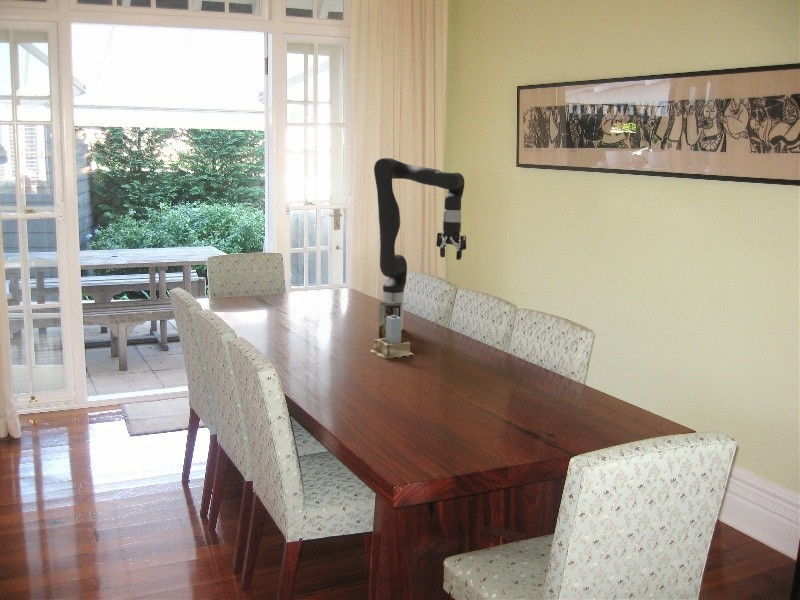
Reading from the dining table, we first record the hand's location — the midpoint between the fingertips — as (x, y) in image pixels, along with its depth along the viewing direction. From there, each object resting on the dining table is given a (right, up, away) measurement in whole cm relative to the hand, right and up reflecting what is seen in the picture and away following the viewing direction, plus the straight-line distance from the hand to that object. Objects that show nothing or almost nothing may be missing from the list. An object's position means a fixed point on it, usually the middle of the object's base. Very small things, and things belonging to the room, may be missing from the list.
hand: (450, 258), depth 376 cm
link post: (-24, -38, -26) cm, 52 cm away
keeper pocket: (-25, -39, -26) cm, 53 cm away
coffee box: (-26, -35, -5) cm, 44 cm away
